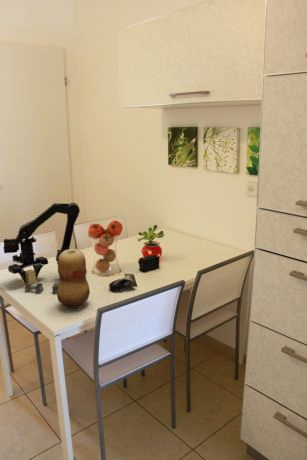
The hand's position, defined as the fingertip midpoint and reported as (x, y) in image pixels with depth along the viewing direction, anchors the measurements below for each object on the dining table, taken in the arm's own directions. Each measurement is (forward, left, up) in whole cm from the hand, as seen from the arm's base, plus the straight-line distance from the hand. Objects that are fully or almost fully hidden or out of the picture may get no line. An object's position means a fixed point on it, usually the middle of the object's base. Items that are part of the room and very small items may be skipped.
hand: (30, 281), depth 193 cm
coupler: (0, 0, -1) cm, 1 cm away
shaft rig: (-11, +11, -1) cm, 16 cm away
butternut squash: (-26, +26, -2) cm, 37 cm away
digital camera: (-59, -15, -2) cm, 61 cm away
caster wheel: (-46, +10, -2) cm, 47 cm away
